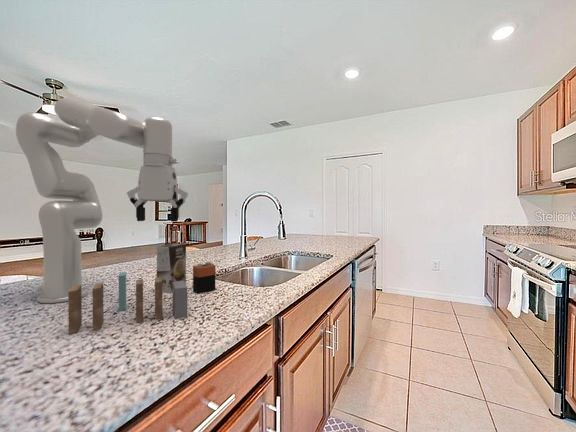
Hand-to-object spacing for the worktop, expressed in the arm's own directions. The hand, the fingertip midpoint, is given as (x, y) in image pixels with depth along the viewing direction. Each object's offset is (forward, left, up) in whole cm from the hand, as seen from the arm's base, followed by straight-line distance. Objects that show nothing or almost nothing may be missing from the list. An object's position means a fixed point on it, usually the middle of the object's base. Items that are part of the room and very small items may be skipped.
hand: (157, 221), depth 79 cm
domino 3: (-10, -2, -26) cm, 28 cm away
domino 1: (-9, -17, -26) cm, 32 cm away
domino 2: (-6, -14, -26) cm, 30 cm away
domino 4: (+1, -8, -26) cm, 27 cm away
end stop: (+9, -2, -26) cm, 27 cm away
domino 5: (+4, -6, -26) cm, 26 cm away
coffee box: (-8, +19, -26) cm, 33 cm away
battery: (+5, +19, -26) cm, 32 cm away
